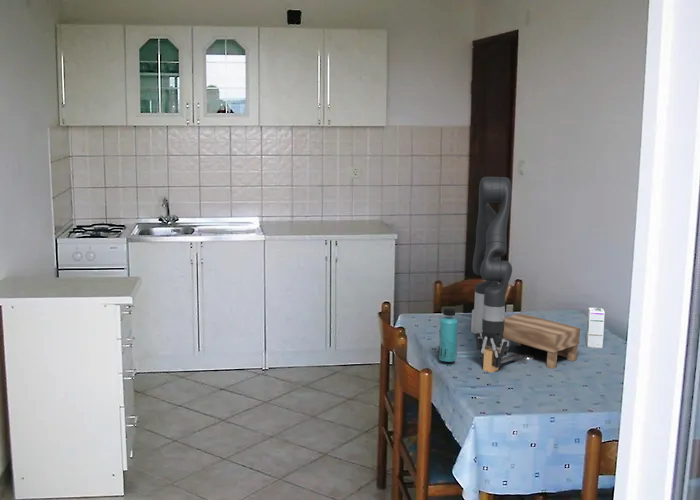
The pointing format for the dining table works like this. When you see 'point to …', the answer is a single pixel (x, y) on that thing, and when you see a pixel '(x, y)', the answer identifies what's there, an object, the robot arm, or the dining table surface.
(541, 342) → the small wooden stool
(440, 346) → the beverage bottle
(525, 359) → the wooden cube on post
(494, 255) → the robot arm
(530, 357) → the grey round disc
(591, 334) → the syrup box
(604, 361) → the dining table surface
